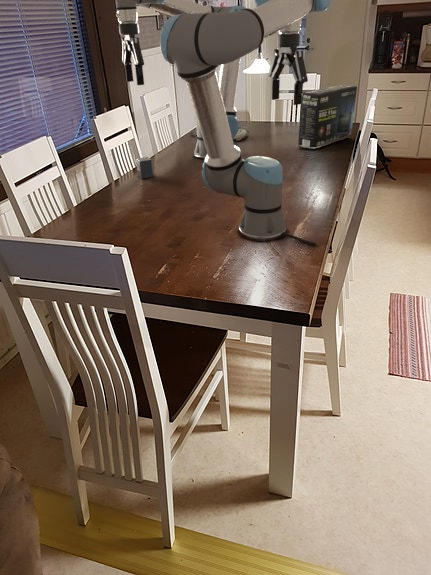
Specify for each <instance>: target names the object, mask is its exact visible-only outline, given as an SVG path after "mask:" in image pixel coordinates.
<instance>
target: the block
mask: <svg viewBox="0 0 431 575" xmlns="http://www.w3.org/2000/svg"><path fill="white" fill-rule="evenodd" d="M135 162H136V169H137V170H136V171H137V176H138V177H139V178H140V179H142V180H143V179H149V178H153V177H154V172H153V163H152V159H151V158H150V157H148V156H145V157H137V158H135Z"/></svg>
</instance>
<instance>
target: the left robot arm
mask: <svg viewBox="0 0 431 575" xmlns="http://www.w3.org/2000/svg"><path fill="white" fill-rule="evenodd" d="M137 6H139V7H142V8H146V9H148V10H152V11H156V12H159V13H161V14H165V15H167V16H170V17H172V16H174V15H179V14H183V13H188V14H194V13H225V12H237V11H240V10H242V9H245V8H247V7H245V6H241V5H231V6H213V5H211V4H206V5H202V4H199V3H198V2H195V1H192V0H115V7H116V13H115V15H116V17H117V22H118V23H119V24H118V32H119V35H120V36H122V37H121V40H122V41H121V46H122V48H121V49H122V51H121V53H122V54H121V55H122V56H121V61H122V63H123V64H124V70H125V77H126V83H131V82H132V83H133V82H134V74H133V67H134V70H135V78H136V86H145V78H144V69H143V67H144V66H145V61H144V57H143V53H142V50H141V45H140V38H139V37H136V35H139V34H140V26H139V23H138V22H139V16H138V9H137ZM132 59H133V61H134V65H132V64H133V62H132ZM241 59H242V57H241V58H239V59H237V60H234V61H232V62H229V63H226V64H223V65H219V72H218V78H217V80H218V84H219V88H220V92H221V96H222V99H223V103H224V107H225V111H226V115H227V119H228V123H229V127H230V131H231V135H232V138H234V137H235V136H236V134H237V133H238V130H239V126H240V123H239V121H238V118H237V113H238V110H237V109H236V107H235V102H236V95H237V88H238V81H239V75H240V74H239V73H240V67H241ZM195 126H196V134H195V133H194V131H191V132H192V133H194V134H195V135H194V134H192V133H191V132H190V134H191V135H192V136H194V137H195V138H196V144H195V148H194V150H193V152H194V153H193V156H194V158H196V159H199V160H205V157H206V155H207V154H208V153H207V150H206V146H205V143H204V140H203V137H202V133H201V130H200V127H199V123H198V120H197V117H196V116H195ZM196 135H197V136H196Z"/></svg>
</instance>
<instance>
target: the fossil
mask: <svg viewBox="0 0 431 575" xmlns="http://www.w3.org/2000/svg"><path fill="white" fill-rule="evenodd" d="M249 132H250V129H249V128H248V127H245V126H242V127H241V126H240V125H239V130H238V133H237V134H236V136H235V137H234V138H232V139H233V140H234V139H240V138H243V139H245V137H247V135H246V134H247V133H249ZM249 134H250V133H249ZM244 136H245V137H244ZM235 141H236V142H240V141H241V140H235Z"/></svg>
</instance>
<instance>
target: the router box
mask: <svg viewBox="0 0 431 575" xmlns="http://www.w3.org/2000/svg"><path fill="white" fill-rule="evenodd" d="M357 93H358V86H356V85H350V84H339V85H338V84H337V85H334V86H328V87H324V88H318V89H314V90H309V91H304V92H302V100H301V104H300V109H299V110H300V111H299V124H298V137H297V146H298V145H302V146H307V147H317V146H320V145H323V144H325V143H328V142H331V141H333V140H336V139H338V138H341V137H344V136H347V135H351V136H352V133H353V132H352V131H353V125H354V115H355V109H356V99H357ZM311 151H313V150H312V149H311Z"/></svg>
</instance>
